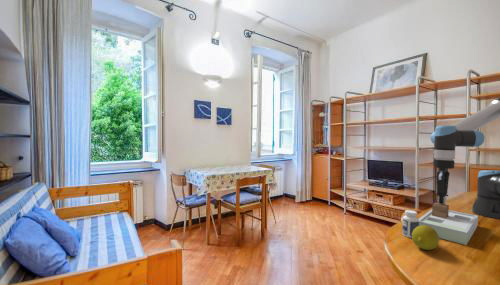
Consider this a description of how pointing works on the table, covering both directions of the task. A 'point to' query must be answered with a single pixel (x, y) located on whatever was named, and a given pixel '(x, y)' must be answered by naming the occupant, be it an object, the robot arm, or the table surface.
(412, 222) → the pill bottle
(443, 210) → the walnut block
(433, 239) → the lemon
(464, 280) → the table surface
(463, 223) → the board
